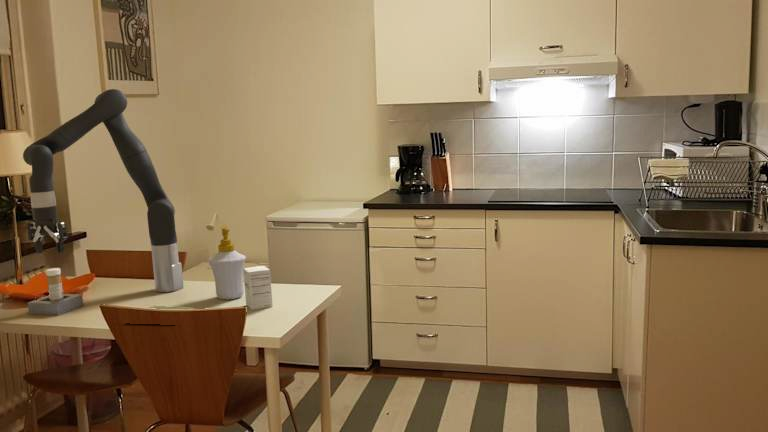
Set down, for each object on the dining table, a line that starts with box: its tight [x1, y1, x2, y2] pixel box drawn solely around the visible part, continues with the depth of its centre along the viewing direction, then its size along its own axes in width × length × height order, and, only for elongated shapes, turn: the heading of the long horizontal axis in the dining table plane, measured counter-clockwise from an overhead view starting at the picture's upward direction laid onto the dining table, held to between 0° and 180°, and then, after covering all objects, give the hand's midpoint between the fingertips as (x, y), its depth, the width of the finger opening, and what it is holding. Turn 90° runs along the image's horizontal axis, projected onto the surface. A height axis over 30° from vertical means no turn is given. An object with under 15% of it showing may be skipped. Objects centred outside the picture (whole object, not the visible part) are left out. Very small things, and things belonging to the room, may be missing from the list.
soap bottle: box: [208, 225, 247, 301], centre depth 250 cm, size 13×13×25 cm
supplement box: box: [243, 265, 273, 311], centre depth 237 cm, size 7×7×13 cm
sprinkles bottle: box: [45, 267, 64, 302], centre depth 245 cm, size 5×5×14 cm
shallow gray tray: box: [27, 293, 84, 317], centre depth 252 cm, size 26×21×4 cm
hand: (50, 252), depth 243 cm, fingers open, 8 cm apart
